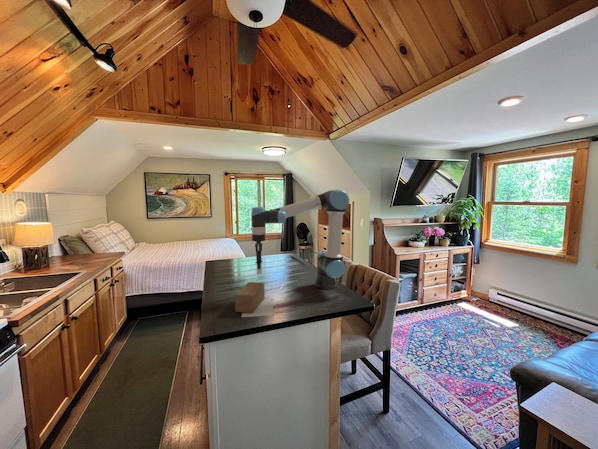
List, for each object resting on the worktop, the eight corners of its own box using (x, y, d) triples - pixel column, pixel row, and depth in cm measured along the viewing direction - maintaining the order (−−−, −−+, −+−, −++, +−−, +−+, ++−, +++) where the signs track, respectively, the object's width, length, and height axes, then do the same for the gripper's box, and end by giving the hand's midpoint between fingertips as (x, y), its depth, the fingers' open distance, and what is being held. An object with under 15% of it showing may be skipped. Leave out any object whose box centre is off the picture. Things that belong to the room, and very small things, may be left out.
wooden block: (265, 298, 147) (252, 314, 128) (249, 297, 149) (234, 312, 130) (264, 282, 147) (252, 295, 127) (248, 281, 148) (234, 293, 129)
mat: (273, 299, 148) (273, 298, 148) (273, 315, 127) (273, 314, 127) (245, 300, 146) (245, 299, 146) (241, 317, 125) (241, 316, 125)
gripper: (252, 232, 151) (253, 270, 153) (251, 235, 138) (251, 277, 140) (265, 232, 151) (265, 270, 154) (264, 235, 138) (265, 276, 141)
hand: (259, 273), depth 147 cm, fingers closed
